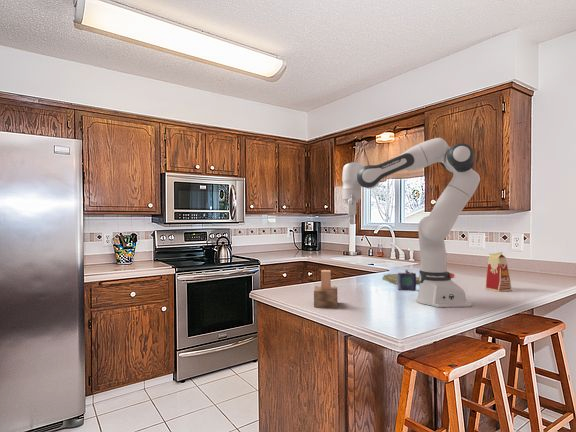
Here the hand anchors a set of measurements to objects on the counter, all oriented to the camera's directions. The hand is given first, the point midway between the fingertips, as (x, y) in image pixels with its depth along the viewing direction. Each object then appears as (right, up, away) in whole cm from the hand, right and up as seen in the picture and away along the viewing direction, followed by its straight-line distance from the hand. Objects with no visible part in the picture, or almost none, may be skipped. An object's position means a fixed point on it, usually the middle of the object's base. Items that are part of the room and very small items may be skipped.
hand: (351, 224), depth 177 cm
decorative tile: (+37, -35, +38) cm, 63 cm away
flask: (+31, -35, +14) cm, 49 cm away
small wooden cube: (-14, -35, -16) cm, 41 cm away
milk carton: (+79, -35, +14) cm, 87 cm away
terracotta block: (-14, -28, -16) cm, 35 cm away
